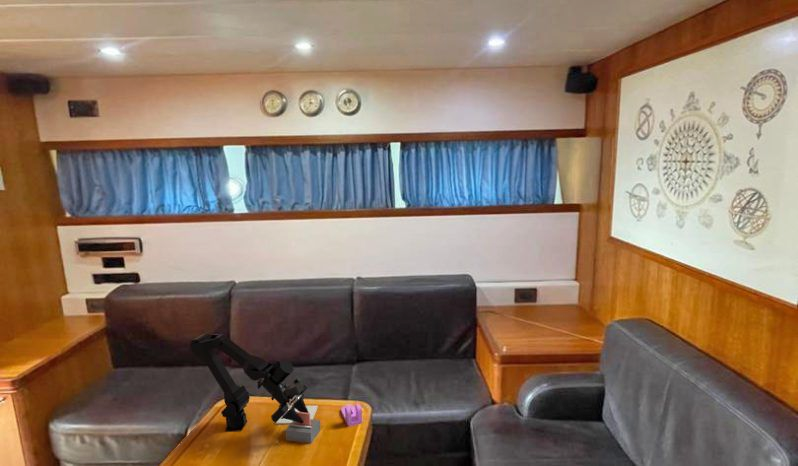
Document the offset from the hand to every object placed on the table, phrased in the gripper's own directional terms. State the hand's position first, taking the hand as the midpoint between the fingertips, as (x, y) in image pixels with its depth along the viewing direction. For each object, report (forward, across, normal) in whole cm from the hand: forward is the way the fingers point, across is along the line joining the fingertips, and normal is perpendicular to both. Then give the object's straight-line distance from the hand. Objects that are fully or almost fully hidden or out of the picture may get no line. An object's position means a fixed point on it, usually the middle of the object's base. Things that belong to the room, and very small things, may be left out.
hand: (305, 419), depth 165 cm
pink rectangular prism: (+4, 0, +6) cm, 7 cm away
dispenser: (+4, 0, +6) cm, 7 cm away
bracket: (+13, +15, -3) cm, 20 cm away
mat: (-2, +12, +12) cm, 17 cm away
